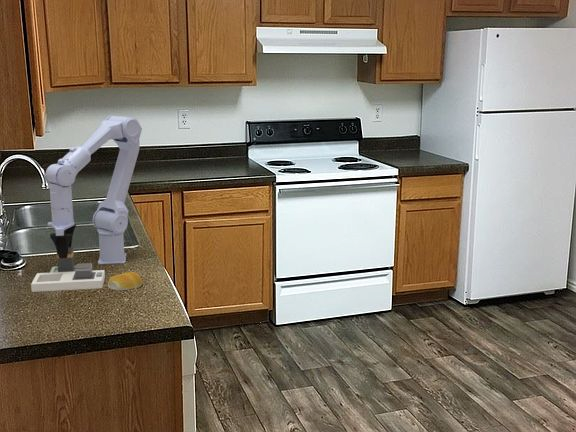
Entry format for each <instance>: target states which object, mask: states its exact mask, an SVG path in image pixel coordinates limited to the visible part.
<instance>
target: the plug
mask: <svg viewBox="0 0 576 432" xmlns="http://www.w3.org/2000/svg"><path fill="white" fill-rule="evenodd" d="M74 254H75V252H74V246H71V247H68V256H67V258H59V256H58V253H57V252H56V261H57V262H56V263H57V266H58V272H74V271H75V266H76V265H75V255H74Z"/></svg>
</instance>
